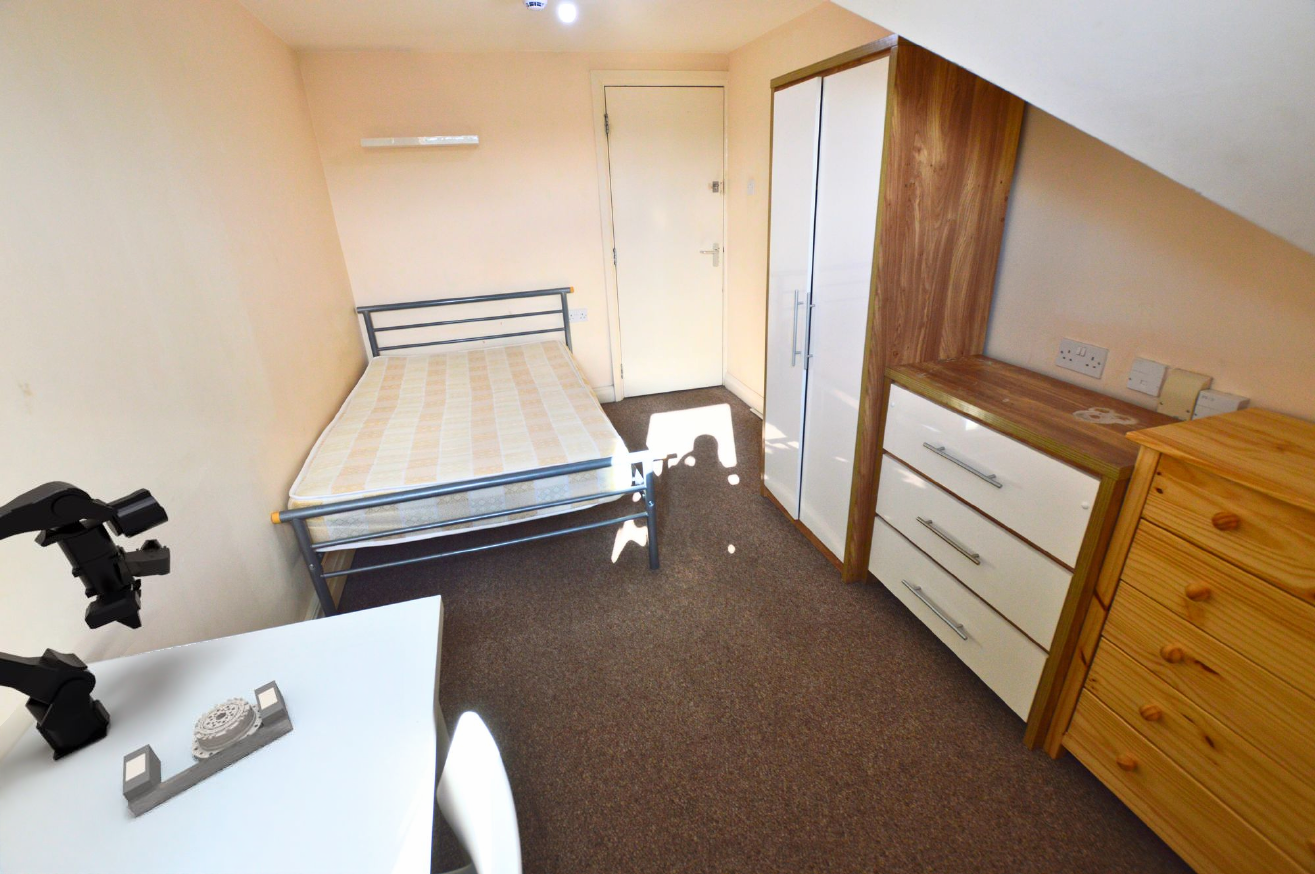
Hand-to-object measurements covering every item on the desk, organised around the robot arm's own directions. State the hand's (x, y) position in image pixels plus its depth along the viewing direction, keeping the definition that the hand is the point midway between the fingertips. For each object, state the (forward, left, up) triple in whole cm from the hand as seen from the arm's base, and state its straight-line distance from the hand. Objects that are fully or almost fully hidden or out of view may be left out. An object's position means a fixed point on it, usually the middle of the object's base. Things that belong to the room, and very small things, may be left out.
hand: (138, 626), depth 99 cm
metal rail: (+5, -29, -13) cm, 32 cm away
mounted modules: (+5, -24, -13) cm, 28 cm away
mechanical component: (+7, -23, -14) cm, 27 cm away
